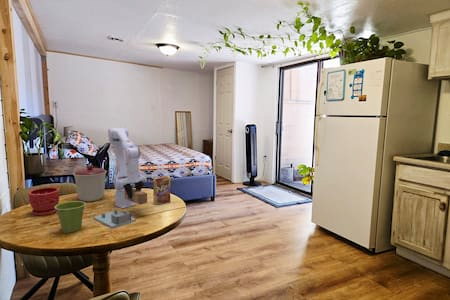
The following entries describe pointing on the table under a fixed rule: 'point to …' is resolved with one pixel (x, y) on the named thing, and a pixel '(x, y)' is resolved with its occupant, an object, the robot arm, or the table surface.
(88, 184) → the canister
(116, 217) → the bracket board
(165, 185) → the candy box
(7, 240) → the table surface
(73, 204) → the plant pot
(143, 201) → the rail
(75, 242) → the table surface
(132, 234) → the table surface
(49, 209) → the plant pot
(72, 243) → the table surface
